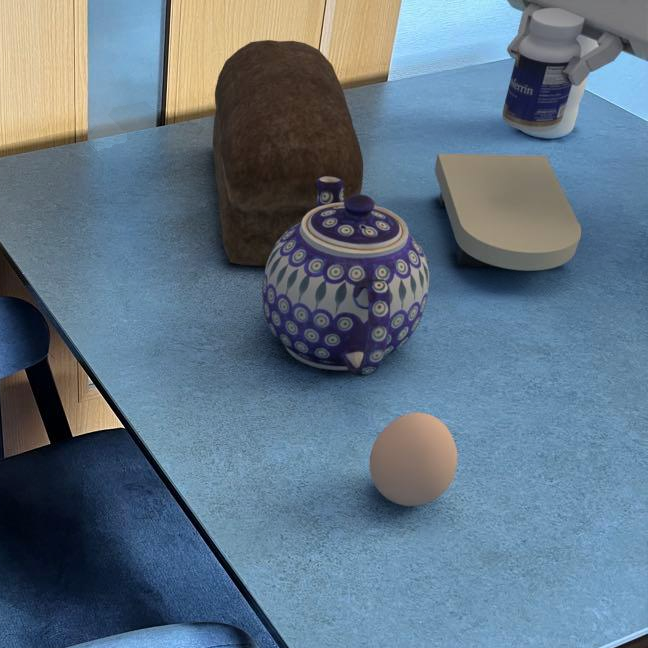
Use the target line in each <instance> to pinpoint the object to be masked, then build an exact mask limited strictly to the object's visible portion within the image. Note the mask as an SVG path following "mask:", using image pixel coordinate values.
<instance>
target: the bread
mask: <svg viewBox="0 0 648 648" xmlns="http://www.w3.org/2000/svg"><path fill="white" fill-rule="evenodd" d="M337 75H338V74H337V73H336V71H335V69H334V66H333V64H332V63H331V62H330V61H329V60H328V58H327V57H326V56H325V55H324V54H323V53H322V52H321V50H319V48H316V47H314V46H312V45H310V44H307V43H306V42H301V41H297V40H273V39H272V40H271V39H263V40H256V41H251V42H249V43H247V44H246V45H244V46H242V47H241V48H239V49H238V50H236V52H234V53H233V54H231V55H230V56H229V57H228V58H227V59H226V60H225V62H224V64H223V66H222V68H221V70H220V72H219V74H218V77H217V80H216V85H215V89H214V90H215V91H214V105H215V113H214V117H213V118H214V119H213V130H212V149H213V150H212V151H213V160H214V167H215V169H214V171H215V172H214V176H215V181H216V185H217V195H218V213H219V220H220V229H221V237H222V245H223V249H224V251H225V254H226V256H227V259H228V260H229V262H230V264H236V265H242V266H262V267H263V266H264V267H266V265H267V261H268V259H269V256H270V253H271V251H272V250H273V248H274V246H275V244H276V243H277V241H278V240H279V239H280V238H281V237H282V236H283V235H284V234H285V233H286V232H287V231H288V230H289V229H290V228H292V227H293V226H295V225H297V224H299V223H301V222H302V219H303V217H304V216H305V215H306V214H307V213H308V212H310V211H311V210H313V209H315V208H317V197H318V187H317V180H318V179H319V178H321V177H325V176H328V177H335V178H338V179H340V180H342V181H343V202H344V201H345V199H346V198H348V197H349V196H351V195H355V194H360V195H361V194H362V193H361V192H362V189H363V181H364V159H363V154H362V150H361V145H360V141H359V139H358V136H357V133H356V129H355V127H354V123H353V119H352V118H353V117H352V116H351V112H350V110H349V106H348V103H347V100H346V95H345V93H344V89H343V88H342V85H341V83H340V79H339V78H338V76H337Z"/></svg>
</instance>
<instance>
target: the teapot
mask: <svg viewBox="0 0 648 648" xmlns="http://www.w3.org/2000/svg"><path fill="white" fill-rule="evenodd" d="M317 187H318V197H317V208H315V209H313V210H311V211H310V212H308V213H307V214H306V215H305V216H304V217H303V219H302V222H301V223H299V224H297V225H295V226H293V227H292V228H290V229H289V230H288V231H287V232H286V233H285V234H284V235H283V236H282V237H281V238H280V239H279V240H278V241H277V243H276V244H275V246H274V248H273V250H272V251H271V253H270V256H269V259H268V261H267V265H266V266H265V269H264V274H263V278H262V286H261V287H262V289H261V296H262V297H261V298H262V311H263V316H264V319H265V321H266V325H267V328H269V331H270V332H271V334H272V336H274V337H275V339H277V340H278V342H280V343H281V344H282V345H283V346H284V347H285V349H286V351H287V352H288V353H289V354H290V356H292V357H293V358H295V360H298V361H300V362H301V363H303V364H306V365H308V366H310V367H314V368H317V369H321V370H326V371H327V370H328V371H343V372H344V371H349V372H350V373H351V374H352V375H355V376H359V377H366V376H369V375H372V374H374V373H376V372H377V371H378V369H379V368H380V367H381V365H382V362H383V359H384V358H385V357H387V356H388V355H391V354H392V353H394V352H395V351H397V350H399V349H400V348H401V347H403V346H404V345H405V344H406V343H407V341H408V340H409V339H410V338H411V337H412V336H413V334H414V332H415V331H416V329H417V327H418V326H419V324H420V322H421V319H422V316H423V315H424V311H425V308H426V304H427V301H428V296H429V288H430V269H429V262H428V259H427V257H426V255H425V252H424V250H423V248H422V247H421V245H420V244H419V243H418V241H417V240H415V238H413V236H412V235H411V234H410V232H409V227H408V225H407V224H406V221H405V220H404V219H403V218H402V217H400V216H399V215H398V214H397V213H395V212H394V211H391V210H389V209H388V208H385V207H383V206H378V205H375V204H376V203H375V201H374V200H373V198H372V197H371V196H369V195H365V194H361V193H360V194H355V195H351V196H349V197H348V198H346V199H345V201H344V202H343V181H342V180H340V179H338V178H335V177H328V176H325V177H321V178H319V179H318V180H317Z"/></svg>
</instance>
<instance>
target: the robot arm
mask: <svg viewBox="0 0 648 648" xmlns="http://www.w3.org/2000/svg"><path fill="white" fill-rule="evenodd" d="M507 2H508V4H509V5H510V7H511V8H512V9H515V10H517V11H520V12H522V13H521V18H520V22H519V26H518V30H517V34H516V36H514V38H513V39H512V40H511V42H510V43H509V44H508V45H507V48H506V52H507V53H508V55H509V57H510V58H512V59H514V60H516V56H517V52H518V48H519V45H520V43H521V41H522V40H523V39H524V38H525V37H527V36H528V35H530V33H531V31H530V29H529V25H530V21H531V18H532V15H533V13H534V12H536V11H538V10H540V9H545V8H561V9H563V10H566V11H568V12H571V13H573V14H576V15H578V16H580V17H583V18H584V24H583V28H582V32H581V34H580V35H583V36H585V37H588V38H590V39H593V40H595V41H597V43H598V47H597V48H595V49H594V50H592V51H591V52H589V53H587V54H586V55H584V56H583V57H581V59H580V58H578V57H575V56H573V57H572V58H571V60H570V61H569V62H568V65H566V66H565V67H564V68H563V70H562V72H561V75H562V77H563V78H564V80H565V81H567V82H569V83H571V84H572V85H575V86H579V85H580V84H581V83H582V82H583V81H584V79H585V78H586V77H587V76H589V75H590V74H591V73H593V72H596V71H597V70H599V69H602V67H605V66H606V65H609V64H611V63H613V62H614V61H615V60H616V59H617V58H618V57H619V55H621V53H622V52H623V53H625V54H628V55H631V56H632V57H635V58H638V59H640V60H643V61H646V62H648V0H507Z"/></svg>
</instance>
